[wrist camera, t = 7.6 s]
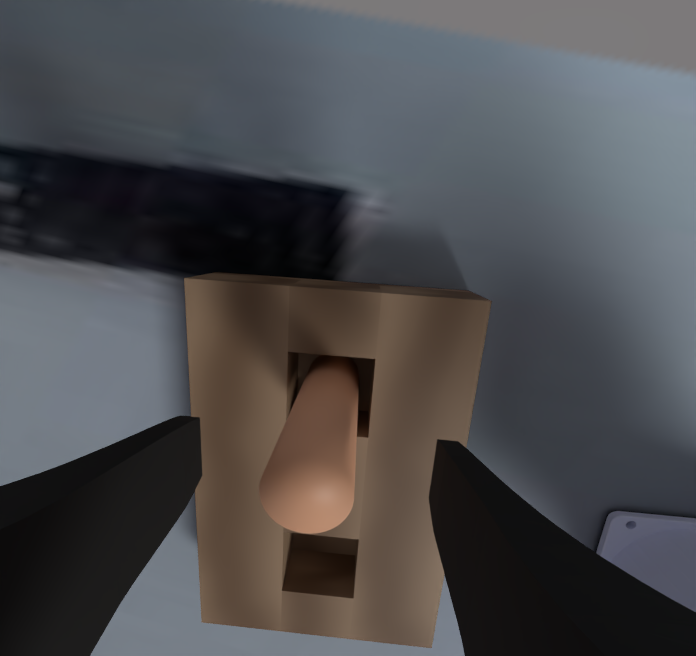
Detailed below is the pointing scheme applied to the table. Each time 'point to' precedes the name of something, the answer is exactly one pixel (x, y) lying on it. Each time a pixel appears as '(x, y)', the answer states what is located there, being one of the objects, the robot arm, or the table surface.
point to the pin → (316, 451)
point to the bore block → (371, 448)
